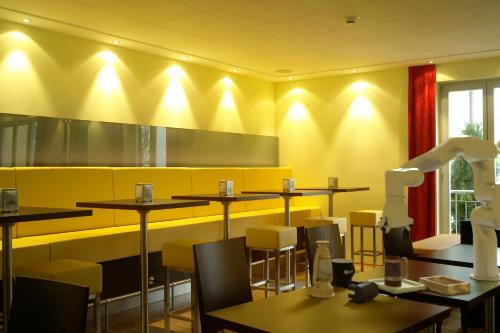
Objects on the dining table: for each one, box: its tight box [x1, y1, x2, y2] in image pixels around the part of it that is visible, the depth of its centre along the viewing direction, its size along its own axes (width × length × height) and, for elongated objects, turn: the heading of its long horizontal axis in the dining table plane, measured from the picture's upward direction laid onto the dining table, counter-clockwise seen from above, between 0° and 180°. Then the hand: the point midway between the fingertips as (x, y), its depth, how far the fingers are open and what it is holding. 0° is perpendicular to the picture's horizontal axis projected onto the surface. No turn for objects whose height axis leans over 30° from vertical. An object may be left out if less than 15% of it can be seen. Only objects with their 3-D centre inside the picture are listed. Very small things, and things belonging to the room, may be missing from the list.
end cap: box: [347, 281, 380, 305], centre depth 183 cm, size 10×7×7 cm
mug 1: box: [331, 258, 356, 287], centre depth 211 cm, size 12×9×10 cm
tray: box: [365, 277, 428, 295], centre depth 205 cm, size 16×18×2 cm
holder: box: [418, 275, 471, 296], centre depth 201 cm, size 12×15×4 cm
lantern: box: [310, 216, 336, 299], centre depth 193 cm, size 12×10×30 cm
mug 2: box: [383, 255, 409, 287], centre depth 205 cm, size 10×7×12 cm
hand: (396, 241), depth 205 cm, fingers open, 9 cm apart
